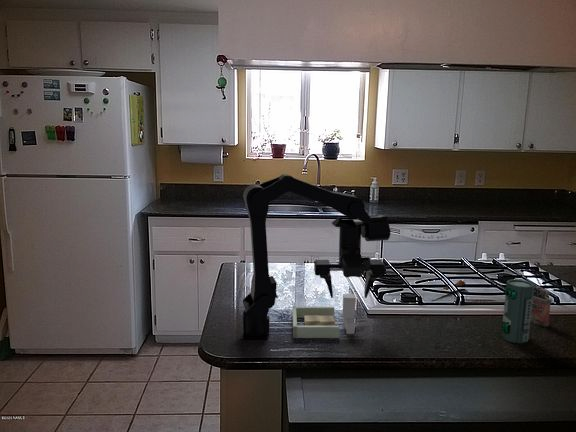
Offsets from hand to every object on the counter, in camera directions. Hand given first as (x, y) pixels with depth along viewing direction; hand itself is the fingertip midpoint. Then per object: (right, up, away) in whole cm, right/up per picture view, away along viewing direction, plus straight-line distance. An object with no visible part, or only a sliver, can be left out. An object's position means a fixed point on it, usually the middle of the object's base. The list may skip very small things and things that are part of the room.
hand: (348, 297), depth 128 cm
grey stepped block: (0, -8, +2) cm, 9 cm away
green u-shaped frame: (-9, -8, +2) cm, 12 cm away
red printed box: (+54, -8, +6) cm, 55 cm away
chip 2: (-6, -8, +2) cm, 11 cm away
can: (+43, -10, -5) cm, 44 cm away
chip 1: (-10, -8, +2) cm, 13 cm away
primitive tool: (+35, -4, +27) cm, 44 cm away
